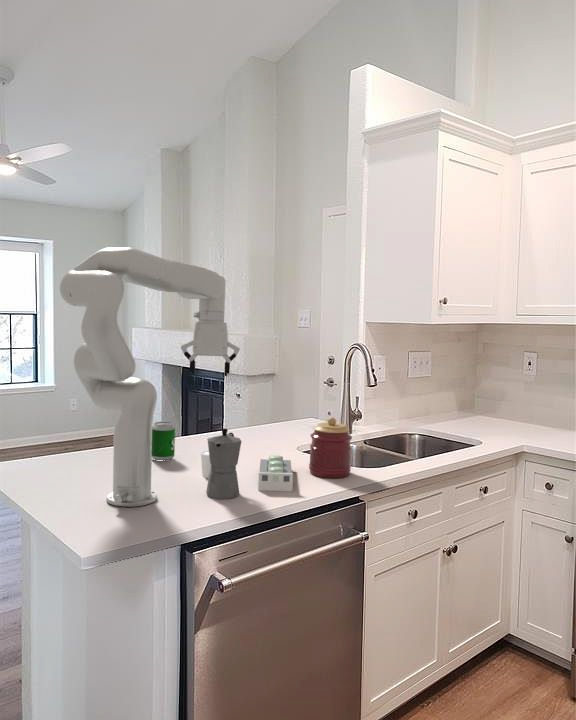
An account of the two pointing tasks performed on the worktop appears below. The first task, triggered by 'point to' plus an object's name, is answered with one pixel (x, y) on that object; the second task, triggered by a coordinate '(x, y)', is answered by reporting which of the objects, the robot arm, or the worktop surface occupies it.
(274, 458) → the button far
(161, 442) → the soda can
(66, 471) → the worktop surface
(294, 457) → the worktop surface
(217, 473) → the coffeepot
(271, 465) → the button middle
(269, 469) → the button near
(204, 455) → the white cup
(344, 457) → the canister
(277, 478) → the button board
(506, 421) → the worktop surface
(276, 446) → the worktop surface
